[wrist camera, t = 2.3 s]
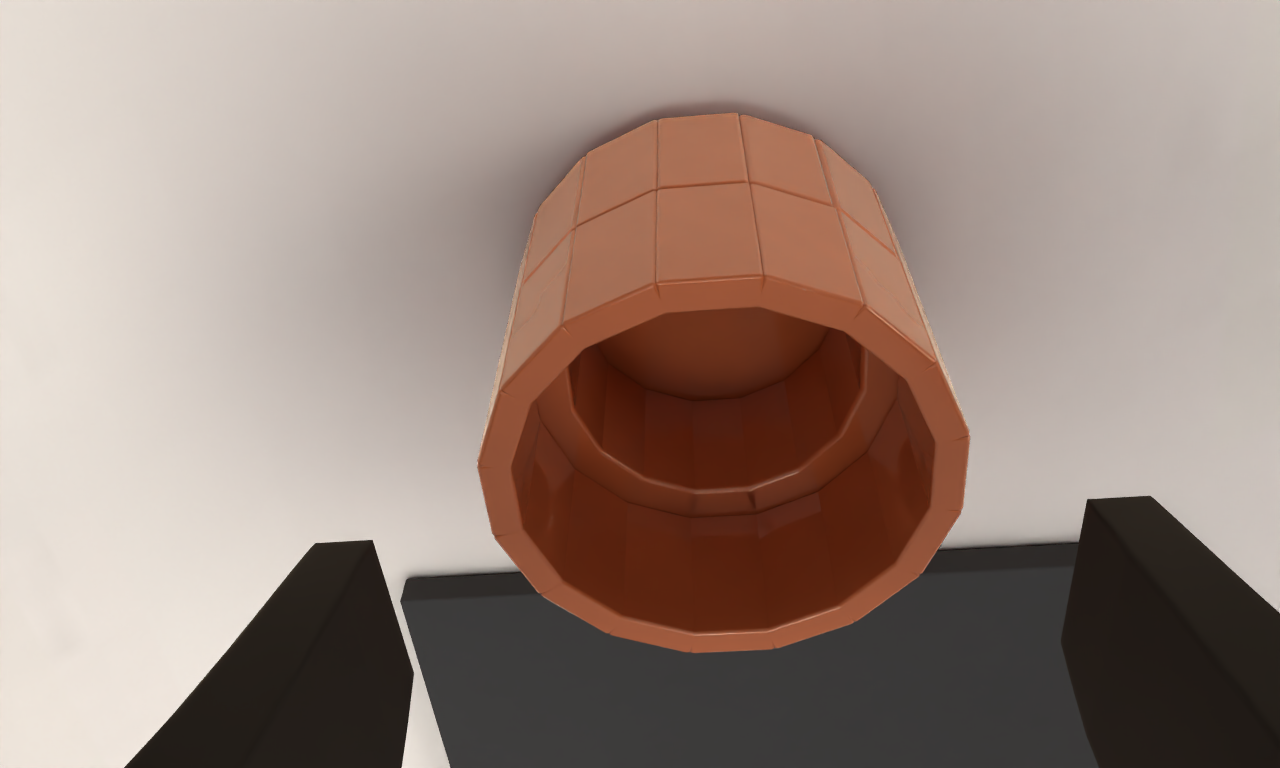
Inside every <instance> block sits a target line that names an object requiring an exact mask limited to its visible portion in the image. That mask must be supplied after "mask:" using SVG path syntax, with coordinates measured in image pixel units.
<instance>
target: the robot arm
mask: <svg viewBox="0 0 1280 768" xmlns="http://www.w3.org/2000/svg"><path fill="white" fill-rule="evenodd" d="M1060 642H1061V646H1062V649H1063V653H1064V657H1065V661H1066V664H1067V668H1068V672H1069V676H1070V680H1071V683H1072V687H1073V691H1074V695H1075V698H1076V702H1077V705H1078V708H1079V712H1080V715H1081V719H1082V722H1083V726H1084V729H1085V733H1086V736H1087V739H1088V741H1089V744H1090V746H1091V749H1092V751H1093V754H1094V756H1095V759H1096V761H1097V764H1098V766H1099V768H1280V613H1279V612H1278V611H1277V610H1276V609H1274V608H1273V607H1272V606H1271V605H1270V604H1269V603H1268V602H1267V601H1265V600H1264V599H1263V598H1262V597H1261V596H1260V595H1259V594H1258V593H1257V592H1255V591H1254V590H1253V589H1252V588H1251V587H1250V586H1249V585H1248V584H1247V583H1246V582H1244V581H1243V580H1242V579H1241V578H1240V577H1239V576H1238V575H1237V574H1236V573H1235V572H1233V571H1232V570H1231V569H1230V568H1229V567H1228V566H1227V565H1226V564H1225V563H1224V562H1222V561H1221V560H1220V559H1219V558H1218V557H1217V556H1216V555H1215V554H1214V553H1213V552H1212V551H1210V550H1209V549H1208V548H1207V547H1206V546H1205V545H1204V544H1203V543H1202V542H1201V541H1200V540H1199V539H1197V538H1196V537H1195V536H1194V535H1193V534H1192V533H1191V532H1190V531H1189V530H1188V529H1187V528H1185V527H1184V526H1183V525H1182V524H1181V523H1180V522H1179V521H1178V520H1177V519H1176V518H1175V517H1173V516H1172V515H1171V514H1170V513H1169V512H1168V511H1167V510H1166V509H1165V508H1164V507H1162V506H1161V505H1160V504H1159V503H1158V502H1157V501H1156V500H1155V499H1154V498H1152V497H1151V496H1138V497H1121V498H1103V499H1087V503H1086V508H1085V513H1084V519H1083V524H1082V529H1081V535H1080V540H1079V545H1078V551H1077V556H1076V561H1075V567H1074V572H1073V577H1072V583H1071V588H1070V593H1069V599H1068V604H1067V609H1066V614H1065V620H1064V625H1063V630H1062V636H1061V641H1060ZM413 676H414V672H413V669H412V665H411V662H410V659H409V656H408V653H407V649H406V646H405V643H404V640H403V636H402V633H401V630H400V627H399V624H398V620H397V617H396V614H395V611H394V608H393V604H392V601H391V598H390V595H389V591H388V588H387V585H386V582H385V579H384V575H383V572H382V569H381V566H380V562H379V559H378V556H377V553H376V550H375V546H374V543H373V540H365V541H347V542H330V543H315V544H314V545H313V546H312V547H311V548H310V550H309V551H308V552H307V553H306V554H305V555H304V557H303V558H302V559H301V560H300V561H299V563H298V564H297V565H296V566H295V567H294V569H293V570H292V571H291V572H290V574H289V575H288V576H287V577H286V578H285V580H284V581H283V582H282V583H281V585H280V586H279V587H278V588H277V590H276V591H275V592H274V593H273V595H272V596H271V597H270V598H269V600H268V601H267V602H266V603H265V605H264V606H263V607H262V608H261V610H260V611H259V612H258V613H257V615H256V616H255V617H254V618H253V620H252V621H251V622H250V623H249V624H248V626H247V627H246V628H245V629H244V631H243V632H242V633H241V634H240V635H239V637H238V638H237V639H236V640H235V642H234V643H233V644H232V645H231V647H230V648H229V649H228V650H227V651H226V653H225V654H224V655H223V656H222V657H221V659H220V660H219V661H218V662H217V663H216V664H215V666H214V667H213V668H212V669H211V670H210V672H209V673H208V674H207V675H206V676H205V677H204V679H203V680H202V681H201V682H200V683H199V684H198V686H197V687H196V688H195V689H194V690H193V692H192V693H191V694H190V695H189V696H188V697H187V699H186V700H185V701H184V702H183V703H182V705H181V706H180V707H179V708H178V709H177V710H176V711H175V713H174V714H173V715H172V716H171V717H170V718H169V719H168V721H167V722H166V723H165V724H164V725H163V726H162V727H161V728H160V729H159V731H158V732H157V733H156V734H155V735H154V736H153V737H152V738H151V739H150V740H149V741H148V742H147V744H146V745H145V746H144V747H143V748H142V749H141V750H140V751H139V752H138V753H137V754H136V755H135V757H134V758H133V759H132V760H131V761H130V762H129V763H128V764H127V765H126V766H125V767H124V768H401V767H402V761H403V754H404V747H405V740H406V733H407V726H408V718H409V710H410V701H411V693H412V685H413Z"/></svg>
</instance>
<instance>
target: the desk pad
mask: <svg viewBox="0 0 1280 768" xmlns="http://www.w3.org/2000/svg"><path fill="white" fill-rule="evenodd" d="M1078 545H1079V543H1078V544H1059V545H1040V546H1021V547H1002V548H984V549H965V550H946V551H936V553H935V554H934V556H933V557H932V559H931V561H930V562H929V564H928V565H927V567H926V568H925V570H924V571H923V573H922V574H920V575H919V577H918V578H917V579H915V580H914V581H912V582H911V583H910V584H908V585H907V586H906V587H904V588H903V589H901V590H900V591H899V592H897V593H896V594H894V595H893V596H892V597H890V598H889V599H888V600H886V601H885V602H883V603H882V604H881V605H879V606H878V607H876V608H875V609H874V610H872V611H871V612H870V613H868V614H867V615H865V616H864V617H863V618H861V619H860V620H858V621H854V623H852V624H850V625H847V626H844V627H841V628H838V629H835V630H832V631H829V632H826V633H823V634H820V635H817V636H814V637H811V638H808V639H805V640H802V641H799V642H796V643H793V644H790V645H787V646H784V647H781V648H775V647H774V649H772V650H752V651H731V652H710V653H691V651H690V652H688V653H686V652H681V651H677V650H673V649H668V648H664V647H659V646H655V645H651V644H646V643H642V642H637V641H633V640H629V639H624V638H620V637H615V636H612V635H610V633H609V634H607V633H604V632H603V631H601V630H599V629H598V628H596V627H594V626H592V625H591V624H589V623H587V622H586V621H584V620H582V619H580V618H579V617H577V616H575V615H573V614H572V613H570V612H568V611H567V610H565V609H563V608H561V607H560V606H558V605H556V604H555V603H553V602H551V601H549V600H548V599H546V598H544V597H543V596H542V595H541V594H539V593H538V592H537V591H536V589H535V588H534V587H533V586H532V584H531V583H530V582H529V581H528V580H527V578H526V577H525V576H524V575H523V573H514V574H495V575H476V576H457V577H438V578H420V579H407V580H406V582H405V586H404V590H403V594H402V597H401V601H400V602H401V605H402V609H403V612H404V615H405V618H406V622H407V625H408V628H409V632H410V635H411V638H412V642H413V645H414V648H415V651H416V655H417V658H418V661H419V665H420V668H421V671H422V675H423V678H424V681H425V685H426V688H427V691H428V694H429V698H430V701H431V704H432V708H433V711H434V714H435V718H436V721H437V724H438V727H439V731H440V734H441V737H442V741H443V744H444V747H445V751H446V754H447V757H448V760H449V764H450V767H451V768H1099V766H1098V764H1097V761H1096V759H1095V756H1094V754H1093V751H1092V749H1091V746H1090V744H1089V741H1088V739H1087V736H1086V733H1085V729H1084V726H1083V722H1082V719H1081V715H1080V712H1079V708H1078V705H1077V702H1076V698H1075V695H1074V691H1073V687H1072V683H1071V680H1070V676H1069V672H1068V668H1067V664H1066V661H1065V657H1064V653H1063V649H1062V646H1061V642H1060V641H1061V636H1062V630H1063V625H1064V620H1065V614H1066V609H1067V604H1068V599H1069V593H1070V588H1071V583H1072V577H1073V572H1074V567H1075V561H1076V556H1077V551H1078Z"/></svg>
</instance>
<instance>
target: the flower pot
mask: <svg viewBox="0 0 1280 768" xmlns="http://www.w3.org/2000/svg"><path fill="white" fill-rule="evenodd" d="M969 446H970V435H969V428H968V426H967V423H966V420H965V418H964V415H963V412H962V410H961V407H960V404H959V402H958V399H957V396H956V394H955V391H954V388H953V386H952V383H951V380H950V378H949V375H948V372H947V370H946V367H945V364H944V362H943V359H942V356H941V354H940V351H939V348H938V346H937V343H936V340H935V338H934V335H933V332H932V330H931V327H930V325H929V323H928V319H927V317H926V314H925V311H924V309H923V306H922V303H921V301H920V298H919V295H918V293H917V290H916V287H915V285H914V282H913V279H912V277H911V274H910V271H909V269H908V266H907V263H906V261H905V258H904V255H903V253H902V250H901V247H900V245H899V242H898V240H897V238H896V236H895V233H894V231H893V229H892V226H891V224H890V222H889V219H888V217H887V215H886V213H885V210H884V208H883V206H882V203H881V201H880V199H879V197H878V194H877V192H876V191H875V190H874V189H873V188H872V187H871V184H870V182H869V181H868V180H867V179H866V178H864V177H863V176H862V175H861V174H860V173H859V172H857V171H856V170H855V169H854V168H853V167H852V166H850V165H849V164H848V163H847V162H846V161H845V160H844V159H842V158H841V157H840V156H839V155H838V154H837V153H835V152H834V151H833V150H832V149H831V148H830V147H828V146H827V145H826V144H825V143H824V142H823V141H821V140H819V139H815V138H814V137H813V136H812V135H810V134H806V133H803V132H800V131H797V130H794V129H790V128H787V127H784V126H781V125H778V124H774V123H771V122H768V121H765V120H761V119H758V118H755V117H752V116H749V115H740V116H739V115H738V113H722V114H710V115H697V116H685V117H672V118H662V119H659V120H658V121H657V120H652V121H650V122H648V123H646V124H644V125H642V126H640V127H638V128H636V129H634V130H632V131H630V132H628V133H626V134H624V135H622V136H620V137H618V138H616V139H614V140H612V141H610V142H608V143H606V144H604V145H602V146H600V147H597V148H595V149H593V150H591V151H589V152H588V153H587V154H586V156H584V157H582V158H581V159H580V160H579V161H578V162H577V164H576V165H575V166H574V167H573V168H572V169H571V171H570V172H569V173H568V174H567V175H566V176H565V177H564V179H563V180H562V181H561V182H560V183H559V184H558V186H557V187H556V188H555V189H554V190H553V191H552V193H551V194H550V195H549V196H548V197H547V198H546V199H545V201H544V202H543V203H542V204H541V205H540V206H539V209H538V212H537V213H536V214H535V216H534V220H533V223H532V227H531V230H530V234H529V237H528V241H527V244H526V248H525V251H524V255H523V258H522V262H521V265H520V269H519V273H518V277H517V282H516V286H515V291H514V295H513V300H512V305H511V309H510V314H509V318H508V323H507V327H506V332H505V337H504V341H503V346H502V351H501V355H500V359H499V363H498V368H497V372H496V377H495V382H494V386H493V391H492V395H491V400H490V404H489V409H488V414H487V418H486V423H485V427H484V432H483V436H482V441H481V446H480V450H479V455H478V459H477V461H478V465H477V469H478V473H479V477H480V482H481V486H482V491H483V495H484V500H485V504H486V509H487V513H488V518H489V522H490V527H491V531H492V534H493V535H494V537H495V540H496V541H497V542H498V543H499V545H500V546H501V547H502V548H503V550H504V551H505V552H506V553H507V555H508V556H509V557H510V558H511V560H512V561H513V562H514V563H515V565H516V566H517V567H518V568H519V570H520V571H521V572H522V573H523V575H524V576H525V577H526V578H527V580H528V581H529V582H530V583H531V584H532V586H533V587H534V588H535V589H536V591H537V592H538V593H539V594H541V595H542V596H543V597H544V598H546V599H548V600H549V601H551V602H553V603H555V604H556V605H558V606H560V607H561V608H563V609H565V610H567V611H568V612H570V613H572V614H573V615H575V616H577V617H579V618H580V619H582V620H584V621H586V622H587V623H589V624H591V625H592V626H594V627H596V628H598V629H599V630H601V631H603V632H604V633H607V634H609V633H610V635H612V636H615V637H620V638H624V639H629V640H633V641H637V642H642V643H646V644H651V645H655V646H659V647H664V648H668V649H673V650H677V651H681V652H686V653H688V652H690V651H691V653H710V652H731V651H752V650H772V649H774V647H775V648H781V647H784V646H787V645H790V644H793V643H796V642H799V641H802V640H805V639H808V638H811V637H814V636H817V635H820V634H823V633H826V632H829V631H832V630H835V629H838V628H841V627H844V626H847V625H850V624H852V623H854V621H858V620H860V619H861V618H863V617H864V616H865V615H867V614H868V613H870V612H871V611H872V610H874V609H875V608H876V607H878V606H879V605H881V604H882V603H883V602H885V601H886V600H888V599H889V598H890V597H892V596H893V595H894V594H896V593H897V592H899V591H900V590H901V589H903V588H904V587H906V586H907V585H908V584H910V583H911V582H912V581H914V580H915V579H917V578H918V577H919V575H920V574H922V573H923V571H924V570H925V568H926V567H927V565H928V564H929V562H930V561H931V559H932V557H933V556H934V554H935V553H936V551H937V550H938V548H939V547H940V545H941V543H942V542H943V540H944V539H945V537H946V536H947V534H948V533H949V531H950V529H951V528H952V526H953V525H954V523H955V522H956V520H957V519H958V517H959V515H960V514H961V509H962V508H963V505H964V495H965V485H966V475H967V466H968V456H969Z"/></svg>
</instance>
